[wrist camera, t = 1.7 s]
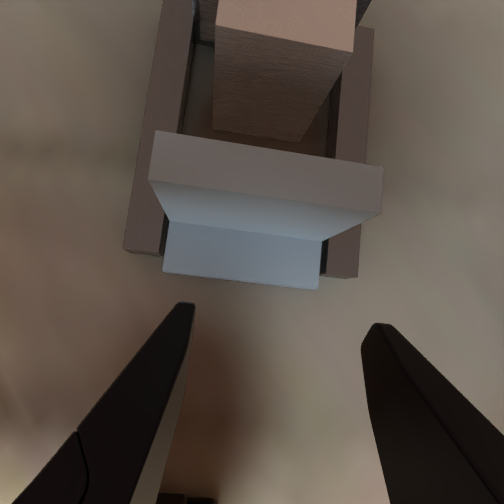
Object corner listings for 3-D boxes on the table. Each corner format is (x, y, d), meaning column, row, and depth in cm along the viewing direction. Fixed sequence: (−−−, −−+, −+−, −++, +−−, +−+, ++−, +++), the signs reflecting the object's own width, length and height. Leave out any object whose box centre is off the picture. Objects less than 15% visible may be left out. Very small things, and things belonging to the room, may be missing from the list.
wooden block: (298, 143, 24) (352, 52, 15) (212, 129, 23) (215, 25, 14) (304, 77, 24) (360, -47, 16) (221, 61, 24) (229, -78, 15)
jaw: (310, 289, 22) (377, 286, 14) (165, 272, 21) (135, 257, 13) (317, 207, 23) (384, 154, 14) (177, 187, 22) (157, 116, 13)
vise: (344, 278, 23) (392, 272, 17) (130, 252, 21) (100, 236, 15) (361, 49, 25) (408, -26, 19) (169, 11, 24) (156, -84, 18)
